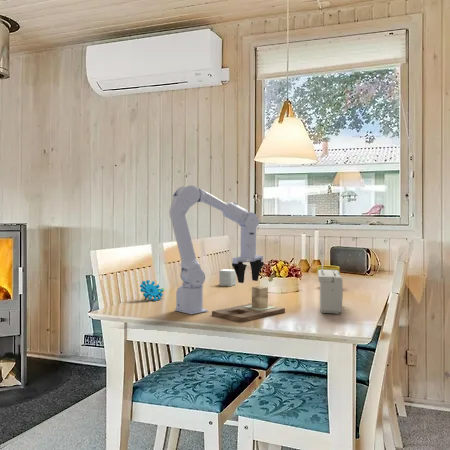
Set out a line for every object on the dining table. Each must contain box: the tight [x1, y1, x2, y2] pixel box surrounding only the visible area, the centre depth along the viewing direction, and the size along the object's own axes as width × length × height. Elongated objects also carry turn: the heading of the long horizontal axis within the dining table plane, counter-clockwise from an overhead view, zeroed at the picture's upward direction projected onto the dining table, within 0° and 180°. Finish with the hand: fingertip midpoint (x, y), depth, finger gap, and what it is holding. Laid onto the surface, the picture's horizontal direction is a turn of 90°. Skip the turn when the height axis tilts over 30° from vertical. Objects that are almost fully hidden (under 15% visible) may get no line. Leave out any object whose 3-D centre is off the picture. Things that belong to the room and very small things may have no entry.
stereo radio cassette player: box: [317, 251, 344, 315], centre depth 178 cm, size 21×8×20 cm, turn 170°
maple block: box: [251, 285, 269, 309], centre depth 172 cm, size 4×4×7 cm
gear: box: [139, 279, 165, 302], centre depth 194 cm, size 11×6×10 cm
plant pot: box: [316, 264, 341, 274], centre depth 226 cm, size 10×10×10 cm
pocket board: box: [211, 302, 286, 323], centre depth 168 cm, size 14×22×2 cm, turn 134°
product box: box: [218, 268, 237, 287], centre depth 231 cm, size 6×6×7 cm
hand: (248, 281), depth 179 cm, fingers open, 7 cm apart
